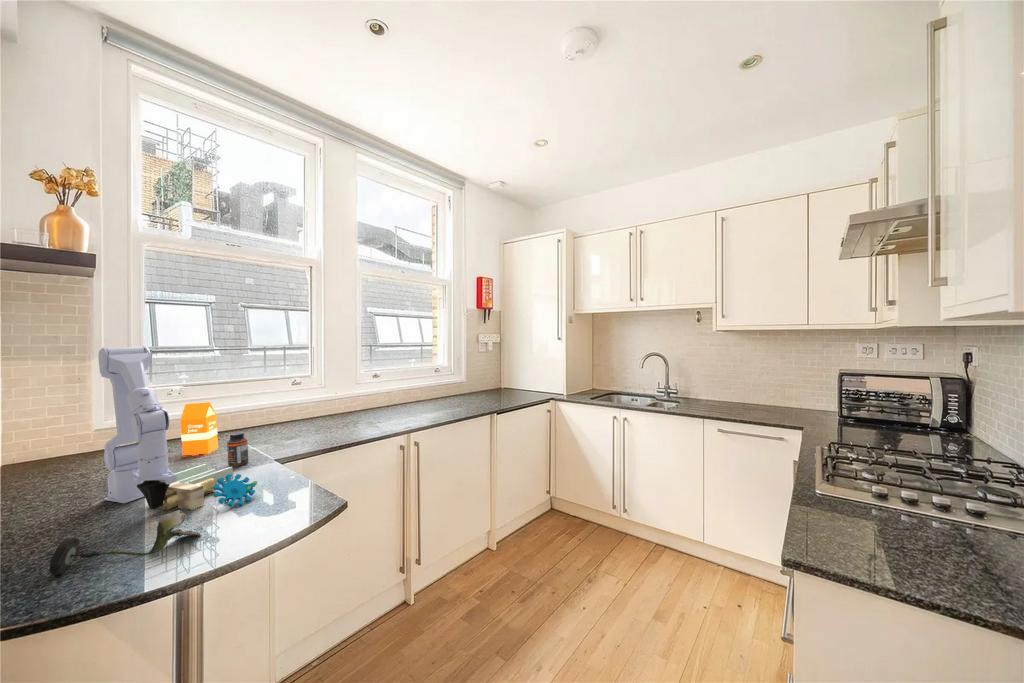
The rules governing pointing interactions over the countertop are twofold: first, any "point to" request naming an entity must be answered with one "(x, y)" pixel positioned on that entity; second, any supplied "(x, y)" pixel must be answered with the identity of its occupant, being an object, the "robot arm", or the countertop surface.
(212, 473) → the pale green slotted tray
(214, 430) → the orange juice
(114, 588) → the countertop surface
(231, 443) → the supplement bottle
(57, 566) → the artificial flower
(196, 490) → the beam
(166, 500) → the axle
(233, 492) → the gear
